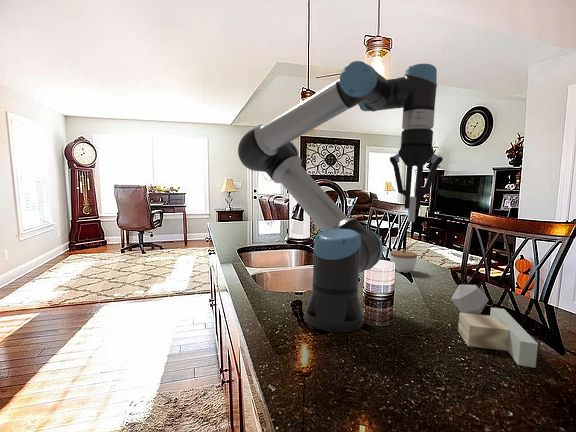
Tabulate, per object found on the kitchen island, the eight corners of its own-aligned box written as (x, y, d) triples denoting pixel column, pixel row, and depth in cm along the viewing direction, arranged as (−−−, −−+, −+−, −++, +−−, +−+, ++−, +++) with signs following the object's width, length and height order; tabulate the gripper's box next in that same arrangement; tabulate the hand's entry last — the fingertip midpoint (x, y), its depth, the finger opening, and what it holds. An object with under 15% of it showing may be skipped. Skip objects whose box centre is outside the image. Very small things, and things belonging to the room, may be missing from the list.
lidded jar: (391, 273, 137) (392, 250, 136) (387, 267, 148) (389, 246, 147) (418, 275, 135) (420, 252, 134) (413, 268, 146) (414, 247, 145)
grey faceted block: (484, 323, 90) (498, 292, 92) (456, 305, 91) (470, 275, 93) (468, 321, 98) (481, 293, 100) (441, 305, 99) (455, 278, 101)
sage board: (518, 365, 68) (520, 341, 67) (489, 326, 87) (490, 307, 86) (535, 367, 67) (538, 343, 66) (502, 327, 86) (504, 308, 85)
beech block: (467, 346, 75) (469, 325, 75) (457, 331, 83) (459, 312, 83) (507, 351, 74) (509, 330, 73) (493, 335, 81) (495, 316, 81)
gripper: (390, 127, 83) (385, 221, 85) (447, 126, 80) (440, 224, 82) (390, 132, 90) (385, 218, 93) (442, 131, 87) (436, 221, 89)
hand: (411, 221), depth 87 cm, fingers closed
